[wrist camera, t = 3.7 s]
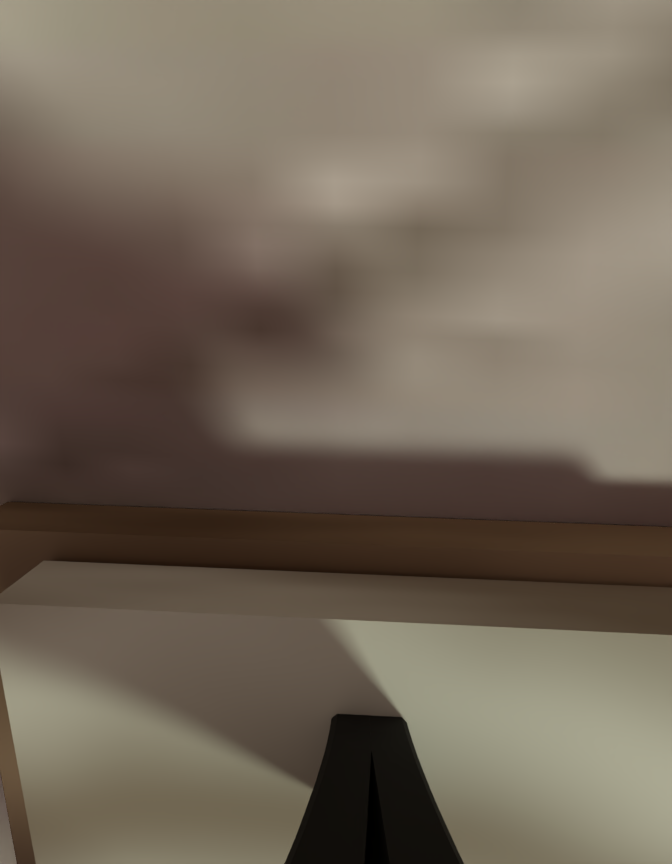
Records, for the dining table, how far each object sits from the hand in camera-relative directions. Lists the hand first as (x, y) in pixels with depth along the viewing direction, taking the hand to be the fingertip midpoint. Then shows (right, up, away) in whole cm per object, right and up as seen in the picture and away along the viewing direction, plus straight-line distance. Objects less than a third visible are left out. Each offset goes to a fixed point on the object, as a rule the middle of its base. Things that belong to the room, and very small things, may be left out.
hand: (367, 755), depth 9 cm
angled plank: (0, -2, +2) cm, 3 cm away
